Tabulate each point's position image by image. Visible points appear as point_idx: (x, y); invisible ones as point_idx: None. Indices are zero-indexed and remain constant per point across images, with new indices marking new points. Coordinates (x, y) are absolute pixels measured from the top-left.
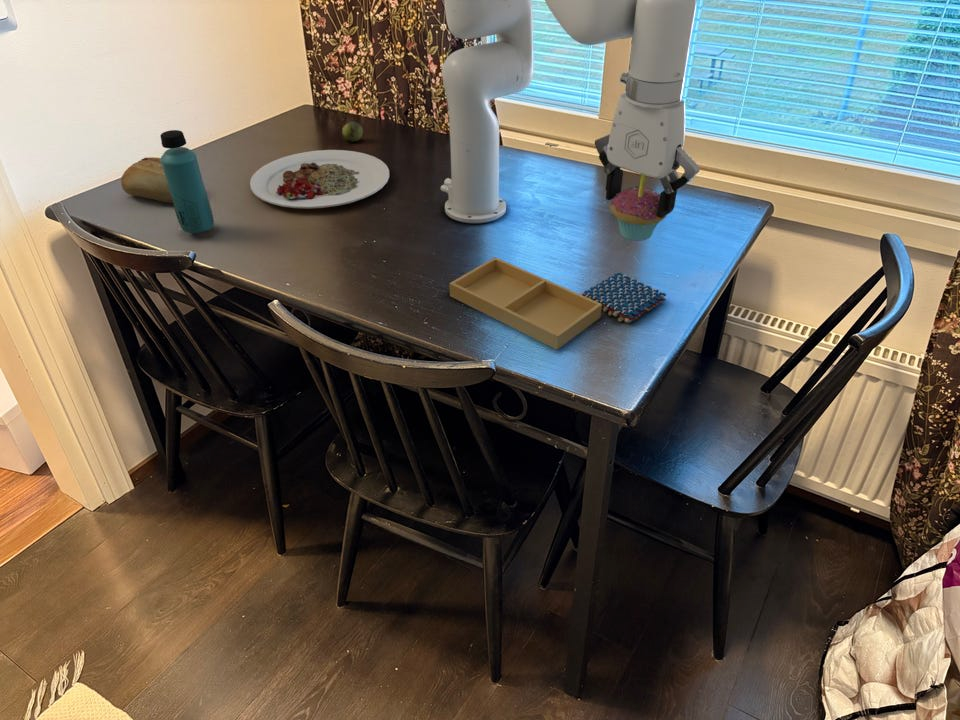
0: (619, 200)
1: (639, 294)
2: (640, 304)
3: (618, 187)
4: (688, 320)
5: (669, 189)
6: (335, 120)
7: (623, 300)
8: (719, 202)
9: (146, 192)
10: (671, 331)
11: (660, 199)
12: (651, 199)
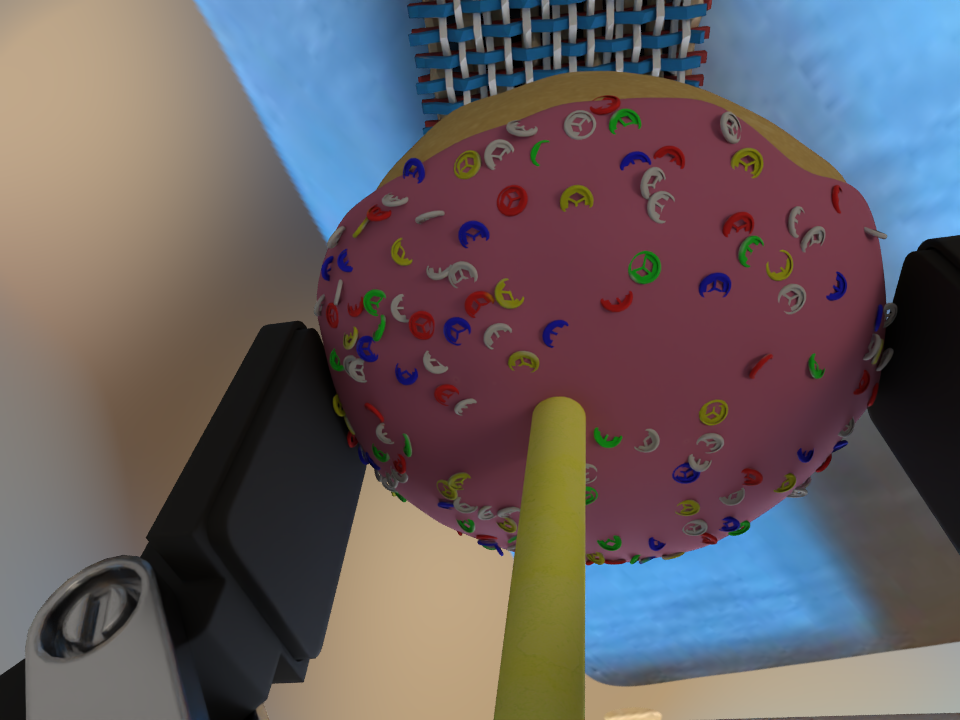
0: (751, 221)
1: None
2: (444, 68)
3: (923, 431)
4: (311, 181)
5: (74, 622)
6: None
7: (525, 38)
8: (685, 650)
9: None
10: (283, 68)
11: (221, 455)
12: (436, 444)
